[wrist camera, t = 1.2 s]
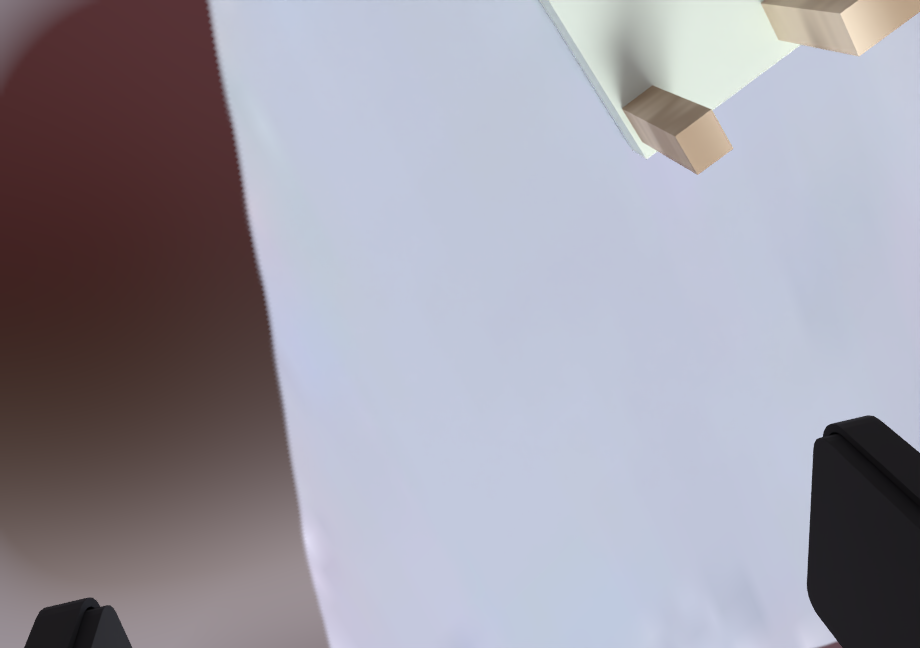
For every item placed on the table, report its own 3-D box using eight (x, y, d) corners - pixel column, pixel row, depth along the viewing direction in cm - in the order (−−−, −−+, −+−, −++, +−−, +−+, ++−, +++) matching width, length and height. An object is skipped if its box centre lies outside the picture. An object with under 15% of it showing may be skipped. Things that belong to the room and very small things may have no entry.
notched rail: (880, -88, 29) (983, -94, 25) (896, -48, 30) (998, -47, 26) (621, 108, 31) (675, 136, 26) (642, 142, 31) (697, 174, 27)
